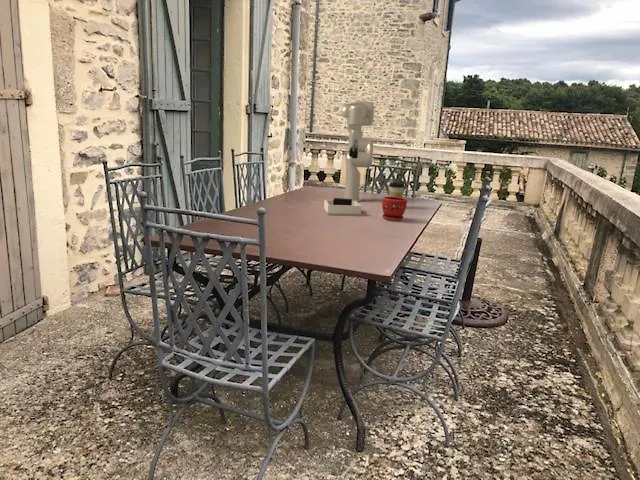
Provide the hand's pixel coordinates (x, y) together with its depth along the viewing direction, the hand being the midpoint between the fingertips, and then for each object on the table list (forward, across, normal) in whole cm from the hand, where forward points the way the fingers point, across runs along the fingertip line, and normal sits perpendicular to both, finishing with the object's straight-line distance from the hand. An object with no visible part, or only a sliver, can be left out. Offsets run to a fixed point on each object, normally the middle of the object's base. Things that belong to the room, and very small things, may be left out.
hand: (353, 157), depth 283 cm
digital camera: (+30, +13, -7) cm, 33 cm away
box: (+30, +13, -7) cm, 34 cm away
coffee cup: (+31, -8, +30) cm, 44 cm away
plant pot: (+31, +29, +19) cm, 46 cm away
